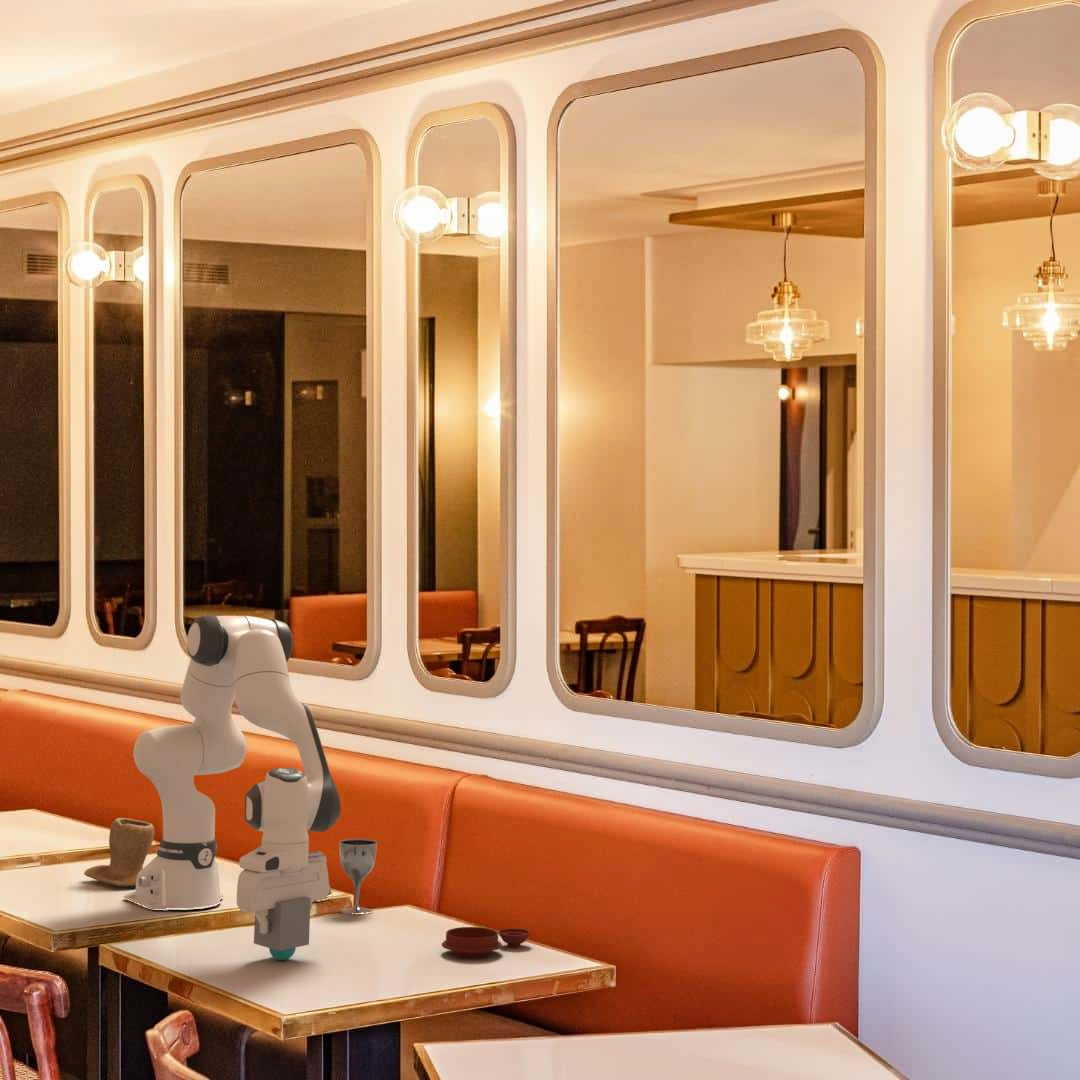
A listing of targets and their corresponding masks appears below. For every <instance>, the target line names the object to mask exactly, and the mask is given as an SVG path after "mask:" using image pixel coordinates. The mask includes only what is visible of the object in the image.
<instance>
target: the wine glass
mask: <svg viewBox="0 0 1080 1080" xmlns="http://www.w3.org/2000/svg"><path fill="white" fill-rule="evenodd" d="M377 845H378V842H377V840H375V839H369V838H368V839H367V838H347V839H342V840H340V841H339V858H340V859H339V861H340V865H341V866H342V869H343V870H344V872H345V873H346V874H347V875H348V877H349V878H350V880H351V881H352V883H353V886H354V897H355V898H354V905H353V906H352V907H347V908H343V909H341V910H340V911H339V913H341V914H342V915H343V914H344V915H348V914H352V913H354V914H355V913H361V914H358V915H357V916H365V915H364V914H365V913H366V912H371V911H373V912H374V910H373V909H370V908H367V907H362V906H360V890H361V885H362V883H363V881H364V880H365V878H366V877H367V876H368V875H369V874H370V873H371V871H372V870H373V868H374V866H375V864H376V858H377V851H378V850H377V848H378V846H377Z"/></svg>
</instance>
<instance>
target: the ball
mask: <svg viewBox="0 0 1080 1080" xmlns="http://www.w3.org/2000/svg"><path fill="white" fill-rule="evenodd" d="M296 949H297V947H295V948H290V949H286V950H281V951H278V950H275V949H271V948H268V951H269V954H270V955H271V957H272V958H273V959H275V960H278V961H287V960H288V959H291V958H292V957H293V956H294V954H295V951H296ZM286 959H287V960H286Z"/></svg>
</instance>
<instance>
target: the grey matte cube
mask: <svg viewBox="0 0 1080 1080" xmlns="http://www.w3.org/2000/svg"><path fill="white" fill-rule="evenodd" d="M310 903H311V898H308V897H301V898H296V899H290V900H285V901H279V902H276V905H275V908H274V909H268V915H265V916H266V919H267V921H268V923H272V928H271V929H272V931H271V932H270V933H267V934H263V933H260V923H259V922H258V920H257V918H256V916H255V915H254V926H253V928H254V930H253V944H254V945H258V946H260V947H265V948H268V949H269V948H271V949H275V950H278V951H281V950H286V949H290V948H295V947H296V948H299V947H303V946H309V945H310V925H311V923H310V922H311V910H310Z"/></svg>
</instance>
